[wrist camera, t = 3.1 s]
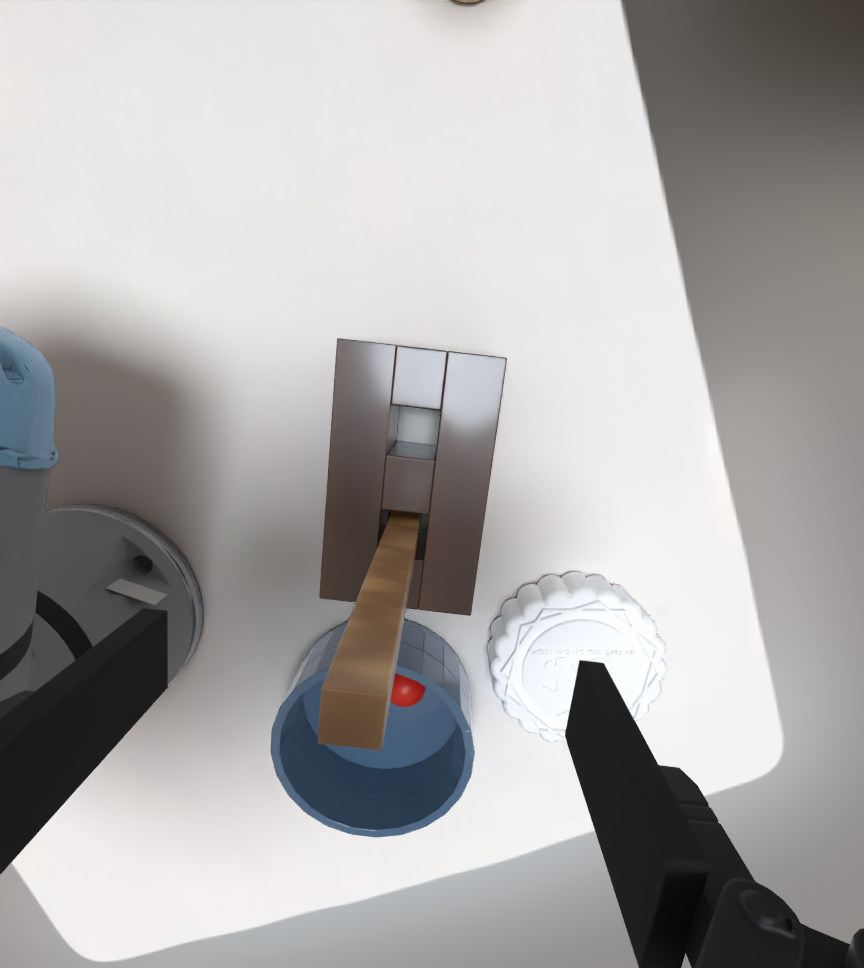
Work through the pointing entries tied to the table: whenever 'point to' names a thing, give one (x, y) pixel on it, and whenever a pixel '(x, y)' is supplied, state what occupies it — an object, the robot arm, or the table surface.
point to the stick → (371, 644)
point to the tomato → (406, 691)
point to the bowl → (405, 752)
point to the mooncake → (571, 649)
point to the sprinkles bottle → (468, 1)
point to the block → (410, 467)
